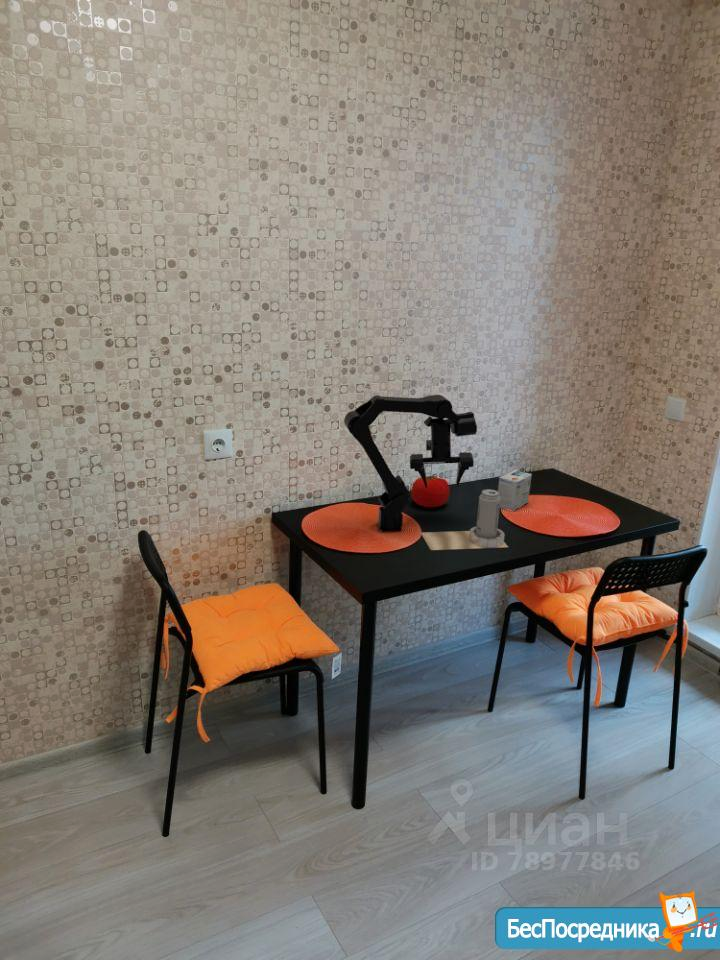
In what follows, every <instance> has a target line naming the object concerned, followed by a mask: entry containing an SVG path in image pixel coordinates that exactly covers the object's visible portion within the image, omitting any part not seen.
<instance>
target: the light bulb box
mask: <svg viewBox="0 0 720 960" xmlns="http://www.w3.org/2000/svg"><path fill="white" fill-rule="evenodd" d="M532 476H533V474H532V473H530V472H529V473H528V472H525V471H521V470H517V469H513V470H511V471H509V472H508V473H506V474H503V475H502V476H499V478H498V486H497V488H498V489H497V491H498V492H499V496H500V499H501V500H500V509H502V508H505V509H509V510H512V511H514V510H515V511H517V510H518V509H517V508H519V507H521V506H523V505H524V504H526V503H529V498H530V490H531V481H532ZM526 505H527V504H526ZM524 506H525V505H524ZM524 506H523V507H524ZM521 508H522V507H521ZM505 509H504V510H505ZM516 509H517V510H516ZM519 509H520V508H519ZM515 511H514V512H515Z"/></svg>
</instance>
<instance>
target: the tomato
mask: <svg viewBox="0 0 720 960" xmlns="http://www.w3.org/2000/svg"><path fill="white" fill-rule="evenodd" d="M426 479H427V488H426V487H425V484H424V482H423V479H422V477H421V476H420V477H417V478H416V479H415V480H414V482H412V485H411V488H410V489H411V491H410V493H411V497H412V499H413V501H414V503H416V505H417V506H421V507H424V508H436V507H437V508H438V507H441V506H443V505H445V503H446V502H448V499H449V497H450V493H451V492H450V484H449V482H448V481H447V480H446V479H444V478H441V477H438V476H435V474H432V475H428V476H427V475H426Z"/></svg>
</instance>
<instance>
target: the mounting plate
mask: <svg viewBox="0 0 720 960" xmlns="http://www.w3.org/2000/svg"><path fill="white" fill-rule="evenodd" d="M469 532H470V530H460V531H459V530H458V531H457V530H456V531H435V532H434V531H432V532H431V531H429V532H427V531H426V532H420V535H421V536H422V537H423V539H424V541H425V542H426V544H427V546H428V548H429V550H431V551H442V550H443V551H444V550H446V551H447V550H469V549H470V550H472V549H473V550H474V549H487V548H486V547H480V546H477V545H475V544H473V543H471V542H470V540H469ZM497 548H499V549H500V548H509V546H508V545H507V543H506V542H505V541H504V542H503V544H502V545H501V546H499V547H495V548H494V549H497Z"/></svg>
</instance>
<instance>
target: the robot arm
mask: <svg viewBox="0 0 720 960" xmlns="http://www.w3.org/2000/svg"><path fill="white" fill-rule="evenodd" d="M383 412H388V413H389V412H390V413H391V412H393V413H407V414H408V413H413V414H422V415H427V416H428V417H427V418H426V419H425V420H424V421H423V423H424V425H425V426H426V427H428V428H429V427H430V435H431V437H430V439H425V447H426V448H425V449H426V450H425V451H430V457H424V454H423V453H418V454H417V453H413V454H411V455H410V456H409V468H410V470H414V472H418V474H419V476H420V477H422V479H423V482H424V484H425V487H426V488H427V479H426V477H427V474H426V468H425V466H426V465H434V464H435V465H436V464H438V465H439V464H457V469H456V471H457V473H456V481H455V484H456V485H455V486H456V488H458V487H459V486H460V483H461V480H462V477H463V475H464V474H465V472H466V471H468V470H469V469H470V468H473V467H474V461H475V460H474V456H473V453H472V452H471V451H470V452H469V451H466V452H458V456H452V450H451V449H452V448H451V447H452V445H451V444H452V443H451V441H452V439H451V435H453V434H454V435H455V437H457V438H458V437H467V436H473V435H474V436H475V435H476V434H477V431H478V425H477V421H476V418H475V413H474V412H472V411H467V412H464V413H456V412H455V411H454V410H453V405H452V402H451V401H450V400H449V399H447V398H446V397H445V396H443V395H442V394H434V395H433V394H432V395H426V396H423V397H417V398H416V397H401V396H383V395H382V396H381V395H373V396H372V397H371V398H370V399H369V400H368V401H365V402H364V403H362V404H361V405H359V406H358V407H357V408H355V410H351V411H348V413H346V415H345V416H344V419H343V423H344V425H345V426H346V429H347V430H348V432H349V433H350V434H351V435H352V437H354V439H355V440H356V442H358V443H359V444H360V445H361V446H362V449H363V450H364V452H365V454H366V455H367V457H368V459H369V460H370V462H371V464H372V466H373V468H374V469H375V471H376V472H377V475H378V476H379V478H380V479H381V480H380V481H381V483H382V486H383V489H384V492H383V493H382V494H381V495H380V496H379V497H378V502H379V505H380V506H379V507H378V509H379V510H378V521H377V522H378V525H379V527H380V529H379V531H380V530H382V531H389V532H402V531H403V530H402V527H403V518H404V517H403V515H404V514H403V511H404V507H405V506H406V505H407V504H408V503H409V501H410V495H409V494H410V493H411V491H410V490H409V488H408V487H407V486H406V484H405V481H404V480H403V479H402V477H401V475H399V474H398V475H396V476H394V474H393V473H392V470H391V469H390V467H389V465H388V464H387V462H386V460H385V459H384V457H383V455H382V453H381V452H380V450H379V448H378V446H377V445H376V443H375V441H374V440H373V436H372V432H371V429H370V426H371V425H372V424H373V423H374V422H375V421H376V420H377V418H378V417H379V416H380V415H381V414H382V413H383ZM378 525H377V526H378ZM379 527H378V528H379Z"/></svg>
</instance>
